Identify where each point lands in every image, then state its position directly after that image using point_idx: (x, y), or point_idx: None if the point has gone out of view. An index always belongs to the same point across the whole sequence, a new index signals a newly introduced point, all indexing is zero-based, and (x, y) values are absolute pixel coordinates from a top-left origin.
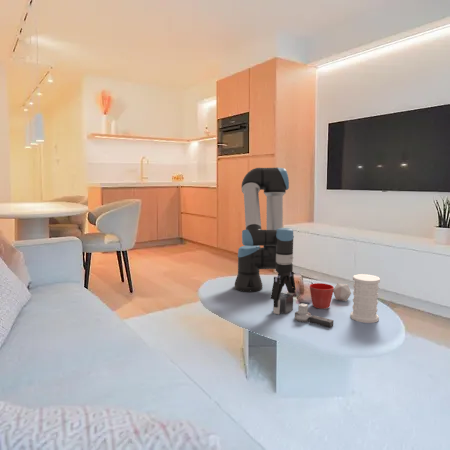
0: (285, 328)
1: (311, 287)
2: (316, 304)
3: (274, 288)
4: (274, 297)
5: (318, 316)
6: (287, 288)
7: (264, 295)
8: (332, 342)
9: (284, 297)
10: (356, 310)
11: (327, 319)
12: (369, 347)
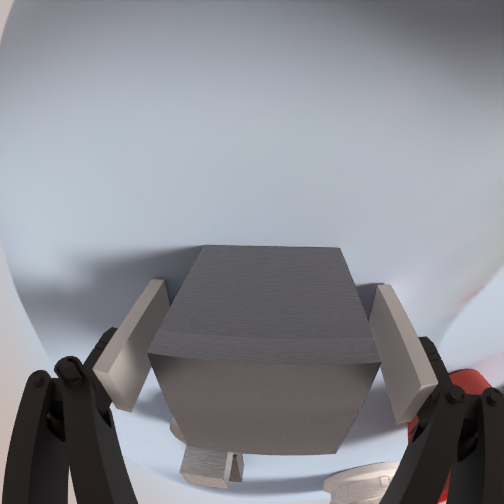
0: None
1: (448, 488)
2: (412, 420)
3: (23, 477)
4: (48, 412)
5: (236, 465)
6: (419, 448)
7: (493, 5)
8: (142, 459)
9: (207, 436)
10: (336, 502)
11: (232, 476)
12: (187, 486)
